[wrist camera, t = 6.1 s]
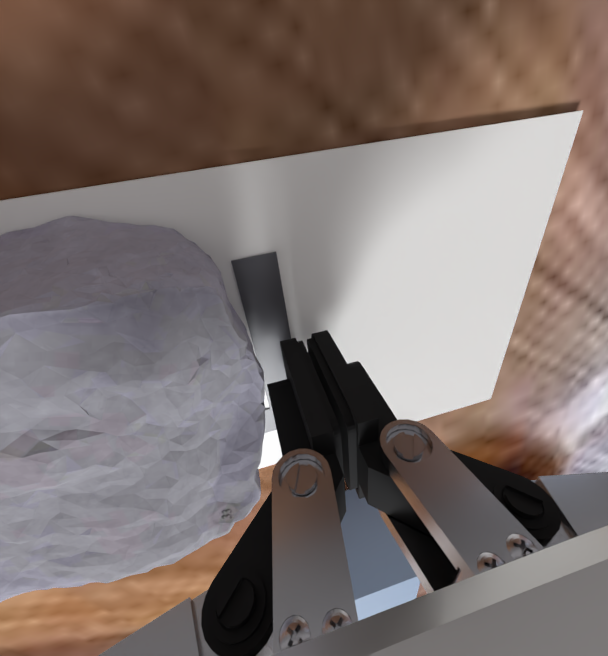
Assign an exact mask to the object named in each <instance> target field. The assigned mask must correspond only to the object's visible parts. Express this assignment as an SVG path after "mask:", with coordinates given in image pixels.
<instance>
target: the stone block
mask: <svg viewBox="0 0 608 656" xmlns="http://www.w3.org/2000/svg"><path fill="white" fill-rule="evenodd" d="M264 396H265V385H264V371H263V369H262V367H261V364H260V363H259V361H258V359H257V358H256V356H255V353H254V351H253V345H252V343H251V340H250V338H249V336H248V333H247V329H246V326H245V325H244V323H243V322H242V320H241V319H240V317H239V316H238V314H237V313H236V311H235V310H234V308H233V306H232V305H231V303H230V302H229V299H228V297H227V293H226V289H225V286H224V282H223V279H222V275H221V272H220V270H219V269H218V267H217V266H216V264H215V263H214V262H213V260H212V258H211V257H210V256H209V255H208V254H206V253H204V251H203V250H201V249H200V248H199V247H198V246H197V245H196V244H195V242H192V241H189V240H188V239H186V238H185V237H184V236H183V235H182V234H180V233H179V232H178V231H176V230H175V229H173V228H166V227H161V226H156V225H135V224H128V223H115V222H106V221H102V220H97V219H91V218H85V217H78V216H66V217H63V218H59V219H56V220H52V221H50V222H47V223H44V224H42V225H39V226H36V227H33V228H27V229H22V230H16V231H11V232H7V233H5V234H2V235H0V602H2V601H4V600H6V599H8V598H11V597H13V596H16V595H19V594H22V593H25V592H30V591H34V590H47V589H50V588H67V587H77V586H82V585H85V584H87V583H91V582H101V583H109V582H113V581H116V580H119V579H122V578H124V577H127V576H130V575H134V574H140V573H145V572H148V571H150V570H151V569H153V568H155V567H159V566H164V565H169V564H173V563H175V562H176V561H178V560H180V559H181V558H183V557H185V556H186V555H188V554H190V553H191V552H193V551H195V550H197V549H199V548H200V547H202V546H203V545H205V544H206V543H208V542H209V541H211V540H212V539H215V538H218V537H221V536H223V535H225V534H227V533H229V532H230V530H231V528H232V527H233V525H234V523H235V522H237V521H239V520H242V519H244V518H245V517H246V516H247V515H248V514H249V513H250V512H251V510H252V508H253V507H254V506H255V504H256V503H257V502H258V501H259V499H260V494H261V487H260V477H259V471H258V467H259V465H260V463H261V457H262V446H263V439H264V434H265V404H264Z"/></svg>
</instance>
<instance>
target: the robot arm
mask: <svg viewBox="0 0 608 656" xmlns="http://www.w3.org/2000/svg"><path fill="white" fill-rule="evenodd" d="M280 346H281V351H282V356H283V362H284V367H285V372H286V377H287V379H286V380H282V381H278V382H274V383H270V384H267V387H268V391H269V396H270V401H271V405H272V410H273V415H274V419H275V424H276V429H277V433H278V438H279V443H280V447H281V452H282V458H281V459H280V460H279V461H278V462H277V463H276V466H275V468H274V470H273V474H272V492H271V493H270V495H269V496H268V498H267V499H266V501H265V502H264V504H263V505H262V507H261V508H260V510H259V511H258V513H257V515H256V516H255V518H254V519H253V521H252V522H251V524H250V525H249V527H248V528H247V530H246V531H245V533H244V534H243V536H242V537H241V539H240V541H239V542H238V544H237V545H236V547H235V548H234V550H233V551H232V553H231V554H230V556H229V557H228V559H227V560H226V562H225V563H224V565H223V567H222V568H221V570H220V571H219V573H218V574H217V576H216V577H215V579H214V580H213V582H212V584H211V586H210V588H209V589H208V590H207V591H205V592H204V593H202V594H201V595H199V596H197V597H196V598H194V599H193V600H191V598H190V597H189V598H188V599H186V600H185V601H183V602H181V603H180V604H178V605H177V606H175V607H174V608H172V609H170V610H169V611H167V612H166V613H164V614H163V615H161V616H159V617H158V618H156V619H155V620H153V621H152V622H150V623H149V624H147V625H145V626H144V627H142V628H141V629H139V630H138V631H136V632H134V633H133V634H131V635H130V636H128V637H127V638H125V639H124V640H122V641H120V642H119V643H117V644H116V645H114V646H113V647H111V648H109V649H108V650H106V651H105V652H103V653H102V654H100V655H98V656H608V472H602V473H586V474H570V475H554V476H538V478H537V480H532V481H531V480H529V479H527V478H525V477H522V476H520V475H517V474H514V473H512V472H509V471H506V470H504V469H501V468H498V467H495V466H493V465H490V464H487V463H485V462H482V461H479V460H476V459H474V458H471V457H468V456H465V455H463V454H460V453H457V452H455V451H452V450H450V449H449V448H448V447H447V446H446V445H445V444H444V443H443V442H442V441H441V440H440V439H439V438H438V437H437V436H436V435H435V434H434V433H433V432H432V431H431V430H430V429H429V428H427V427H426V426H425V425H423V424H421V423H419V422H417V421H413V420H408V419H399V420H397V418H396V417H395V415H394V414H393V412H392V411H391V409H390V408H389V406H388V405H387V403H386V401H385V400H384V398H383V397H382V395H381V394H380V392H379V391H378V389H377V388H376V386H375V384H374V383H373V381H372V380H371V378H370V377H369V375H368V374H367V372H366V371H365V369H364V368H363V366H362V365H361V363H360V362H358V361H356V362H352V363H348V364H347V362H346V361H345V359H344V357H343V355H342V354H341V352H340V350H339V349H338V347H337V345H336V344H335V342H334V340H333V338H332V337H331V335H330V333H329V332H328V330H325V331H321V332H317V333H313V334H311V338H310V339H307V348H308V352H307V349H306V347H305V345H304V343H303V341H302V340H301V341H297V340H296V338H292V339H287V340H283V341H280ZM344 478H345V481H346V483H347V486H348V488H349V490H352V489H355V490H356V492H357V495H358V497H359V499H361V498H364V497H365V499H366V501H367V504H368V505H370V506H372V507H374V508H376V509H378V511H379V513H380V515H381V517H382V519H383V521H384V522H385V524H386V526H387V527H388V529H389V531H390V532H391V534H392V536H393V537H394V539H395V541H396V542H397V544H398V546H399V547H400V549H401V551H402V552H403V554H404V556H405V557H406V559H407V561H408V562H409V564H410V565H411V567H412V569H413V570H414V572H415V574H416V575H417V577H418V579H419V580H420V582H421V584H422V585H423V587H424V589H425V590H426V592H427V594H426V595H424V596H421V597H419V598H416V599H413V600H411V601H408V602H406V603H403V604H401V605H398V606H395V607H393V608H390V609H388V610H385V611H383V612H380V613H377V614H375V615H372V616H370V617H367V618H365V619H362V620H360V621H358V616H357V611H356V605H355V600H354V594H353V589H352V583H351V578H350V572H349V567H348V561H347V556H346V550H345V545H344V540H343V534H342V529H341V522H342V520H343V517H344V515H345V513H346V500H345V485H344Z"/></svg>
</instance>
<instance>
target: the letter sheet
mask: <svg viewBox="0 0 608 656" xmlns="http://www.w3.org/2000/svg"><path fill="white" fill-rule="evenodd" d="M582 113H583V110H582V111H573V112H567V113H560V114H554V115H547V116H541V117H534V118H528V119H521V120H515V121H509V122H502V123H496V124H489V125H483V126H476V127H470V128H463V129H457V130H451V131H444V132H438V133H431V134H425V135H418V136H412V137H405V138H399V139H393V140H386V141H380V142H373V143H367V144H360V145H354V146H348V147H341V148H335V149H328V150H322V151H315V152H309V153H302V154H296V155H290V156H283V157H277V158H270V159H264V160H257V161H251V162H244V163H238V164H232V165H225V166H219V167H212V168H206V169H199V170H193V171H186V172H180V173H174V174H167V175H161V176H154V177H148V178H141V179H135V180H128V181H122V182H116V183H109V184H103V185H96V186H90V187H83V188H77V189H71V190H64V191H58V192H51V193H45V194H38V195H32V196H25V197H19V198H13V199H6V200H0V235H2V234H5V233H7V232H11V231H16V230H22V229H27V228H33V227H36V226H39V225H42V224H44V223H47V222H50V221H52V220H56V219H59V218H63V217H66V216H78V217H85V218H91V219H97V220H102V221H106V222H115V223H128V224H135V225H156V226H161V227H166V228H173V229H175V230H176V231H178V232H179V233H180V234H182V235H183V236H184V237H185V238H186V239H188V240H189V241H192V242H195V244H196V245H197V246H198V247H199V248H200V249H201V250H203V251H204V253H206V254H208V255H209V256H210V257H211V258H212V260H213V262H214V263H215V264H216V266H217V267H218V269H219V270H220V272H221V275H222V279H223V282H224V286H225V289H226V293H227V297H228V299H229V302H230V303H231V305H232V306H233V308H234V310H235V311H236V313H237V314H238V316H239V317H240V319H241V320H242V322H243V323H244V325H245V326H246V329H247V333H248V336H249V338H250V340H251V343H252V345H253V351H254V353H255V356H256V358H257V359H258V361H259V363H260V364H261V367H262V369H263V371H264V385H265V396H264V404H265V434H264V439H263V446H262V457H261V463H260V465H259V467H258V469H260V468H263V467H267V466H270V465H273V464H276V463H277V462H278V461H279V460H280V459H281V458H282V452H281V447H280V443H279V438H278V433H277V429H276V424H275V419H274V415H273V410H272V405H271V401H270V396H269V391H268V387H267V384H270V383H274V382H278V381H282V380H286V379H287V377H286V372H285V367H284V362H283V356H282V351H281V346H280V341H283V340H287V339H292V338H296V340H297V341H301V340H302V341H303V343H304V345H305V347H306V349H307V352H308V348H307V339H310V338H311V334H313V333H317V332H321V331H325V330H328V332H329V333H330V335H331V337H332V338H333V340H334V342H335V344H336V345H337V347H338V349H339V350H340V352H341V354H342V355H343V357H344V359H345V361H346V362H347V364H348V363H352V362H356V361H358V362H360V363H361V365H362V366H363V368H364V369H365V371H366V372H367V374H368V375H369V377H370V378H371V380H372V381H373V383H374V384H375V386H376V388H377V389H378V391H379V392H380V394H381V395H382V397H383V398H384V400H385V401H386V403H387V405H388V406H389V408H390V409H391V411H392V412H393V414H394V415H395V417H396V418H397V420H399V419H408V420H413V421H419V420H422V419H426V418H429V417H432V416H436V415H439V414H442V413H446V412H449V411H452V410H456V409H459V408H462V407H466V406H469V405H472V404H475V403H479V402H482V401H485V400H489V399H491V396H492V393H493V390H494V387H495V384H496V381H497V378H498V374H499V371H500V368H501V365H502V362H503V359H504V356H505V353H506V350H507V346H508V343H509V340H510V337H511V334H512V331H513V328H514V325H515V322H516V318H517V315H518V312H519V309H520V306H521V303H522V300H523V297H524V294H525V290H526V287H527V284H528V281H529V278H530V275H531V272H532V269H533V266H534V262H535V259H536V256H537V253H538V250H539V247H540V244H541V241H542V238H543V234H544V231H545V228H546V225H547V222H548V219H549V216H550V213H551V210H552V207H553V203H554V200H555V197H556V194H557V191H558V188H559V185H560V182H561V179H562V175H563V172H564V169H565V166H566V163H567V160H568V157H569V154H570V151H571V147H572V144H573V141H574V138H575V135H576V132H577V129H578V126H579V123H580V119H581V116H582Z"/></svg>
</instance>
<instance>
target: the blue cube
mask: <svg viewBox="0 0 608 656" xmlns="http://www.w3.org/2000/svg"><path fill="white" fill-rule="evenodd" d="M345 500H346V513H345V515H344V517H343V520H342V522H341V529H342V534H343V540H344V545H345V550H346V556H347V561H348V567H349V572H350V578H351V583H352V589H353V594H354V600H355V605H356V611H357V616H358V621H360V620H362V619H365V618H367V617H370V616H372V615H375V614H377V613H380V612H383V611H385V610H388V609H390V608H393V607H395V606H398V605H401V604H403V603H406V602H408V601H411V600H413V599H416V596H417V592H418V588H419V585H420V580H419V579H418V577H417V575H416V574H415V572H414V570H413V569H412V567H411V565H410V564H409V562H408V561H407V559H406V557H405V556H404V554H403V552H402V551H401V549H400V547H399V546H398V544H397V542H396V541H395V539H394V537H393V536H392V534H391V532H390V531H389V529H388V527H387V526H386V524H385V522H384V521H383V519H382V517H381V515H380V513H379V511H378V509H376V508H374V507H372V506H370V505H368V504H367V501H366V499H365V497H364V498H361V499H359V497H358V495H357V492H356V490H355V489H352V490H346V491H345Z"/></svg>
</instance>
